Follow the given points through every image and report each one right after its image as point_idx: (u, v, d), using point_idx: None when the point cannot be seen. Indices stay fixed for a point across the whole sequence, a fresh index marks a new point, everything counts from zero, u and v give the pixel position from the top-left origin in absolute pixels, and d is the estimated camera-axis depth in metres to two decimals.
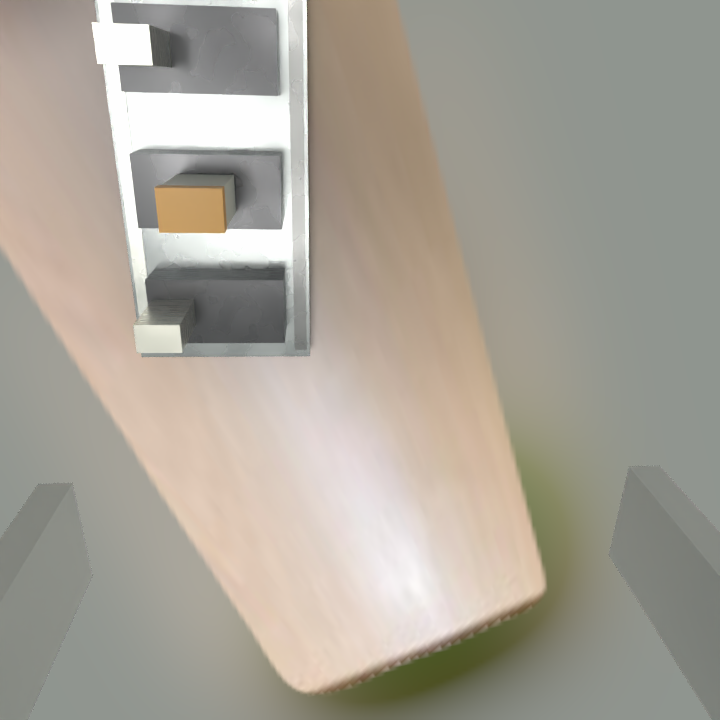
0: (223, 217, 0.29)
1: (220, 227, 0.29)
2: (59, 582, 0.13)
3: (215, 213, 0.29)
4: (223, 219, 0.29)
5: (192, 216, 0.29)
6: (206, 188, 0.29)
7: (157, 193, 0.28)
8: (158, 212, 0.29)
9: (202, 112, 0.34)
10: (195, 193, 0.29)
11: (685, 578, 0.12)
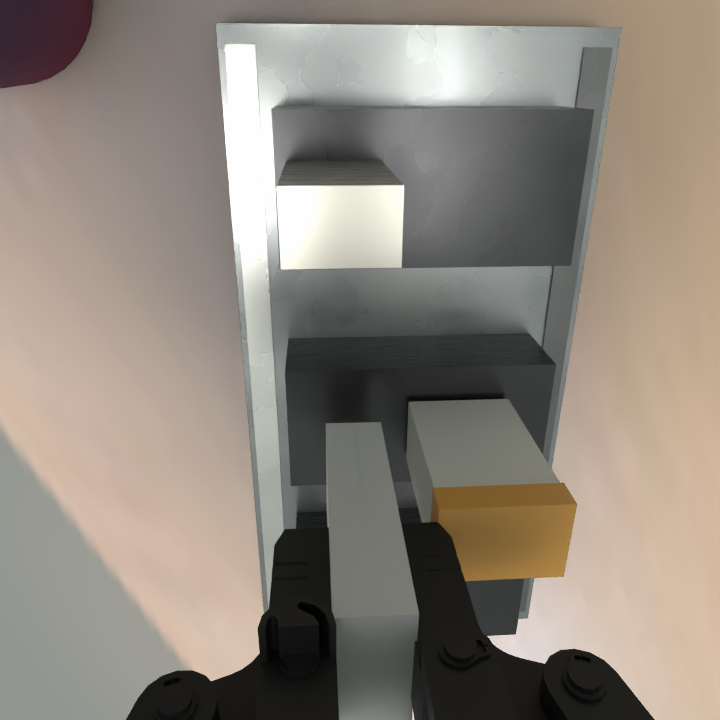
0: (565, 549, 0.14)
1: (556, 567, 0.14)
2: None
3: (553, 545, 0.14)
4: (565, 553, 0.14)
5: (505, 552, 0.14)
6: (543, 503, 0.14)
7: (444, 519, 0.13)
8: None
9: (400, 277, 0.19)
10: (521, 514, 0.14)
11: None
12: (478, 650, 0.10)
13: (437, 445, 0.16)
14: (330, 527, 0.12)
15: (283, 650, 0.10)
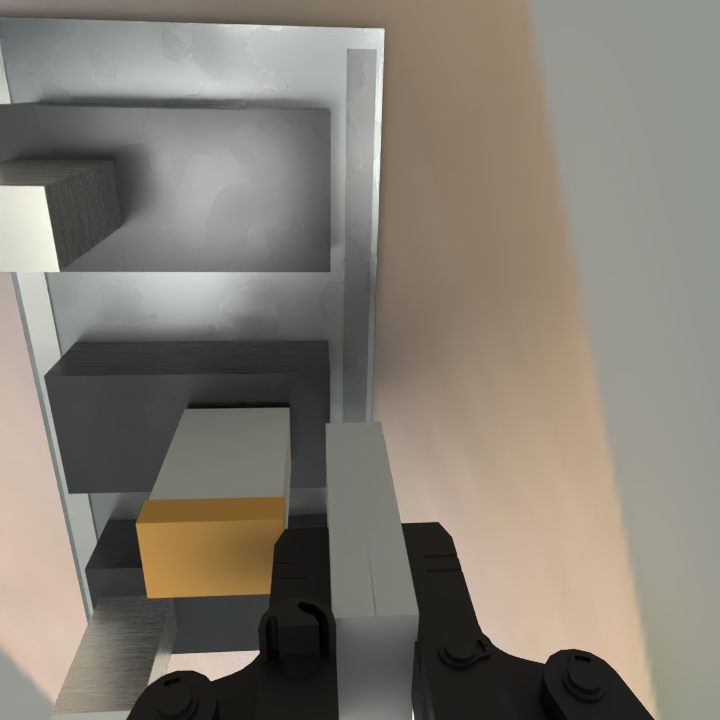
0: None
1: None
2: None
3: (267, 562, 0.14)
4: None
5: (217, 568, 0.14)
6: (249, 518, 0.13)
7: (143, 533, 0.13)
8: (145, 564, 0.13)
9: (185, 280, 0.19)
10: (225, 529, 0.13)
11: None
12: (478, 650, 0.10)
13: (182, 455, 0.15)
14: (330, 527, 0.12)
15: (283, 650, 0.10)
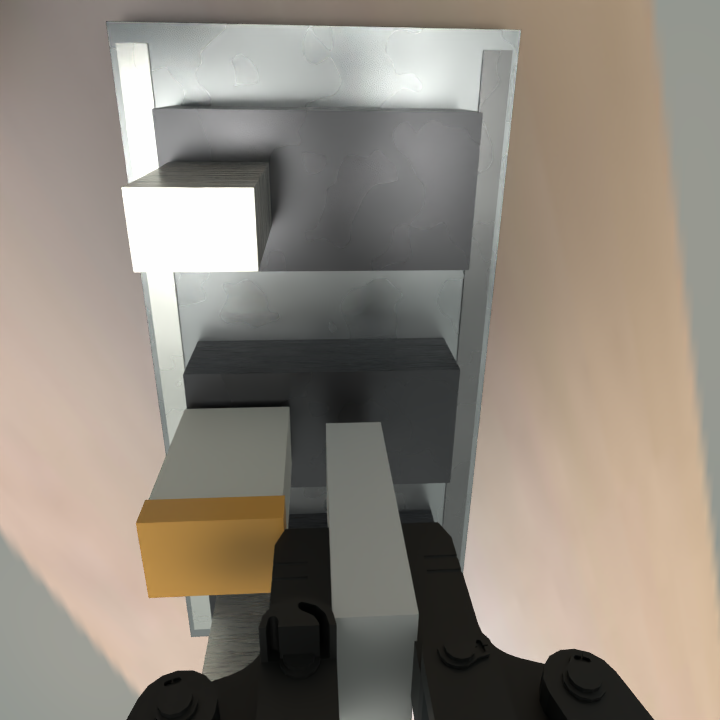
0: None
1: None
2: None
3: (268, 560, 0.14)
4: None
5: (218, 567, 0.14)
6: (249, 517, 0.13)
7: (143, 533, 0.13)
8: (146, 564, 0.13)
9: (309, 280, 0.19)
10: (225, 528, 0.13)
11: None
12: (478, 650, 0.10)
13: (182, 455, 0.15)
14: (330, 527, 0.12)
15: (284, 650, 0.10)
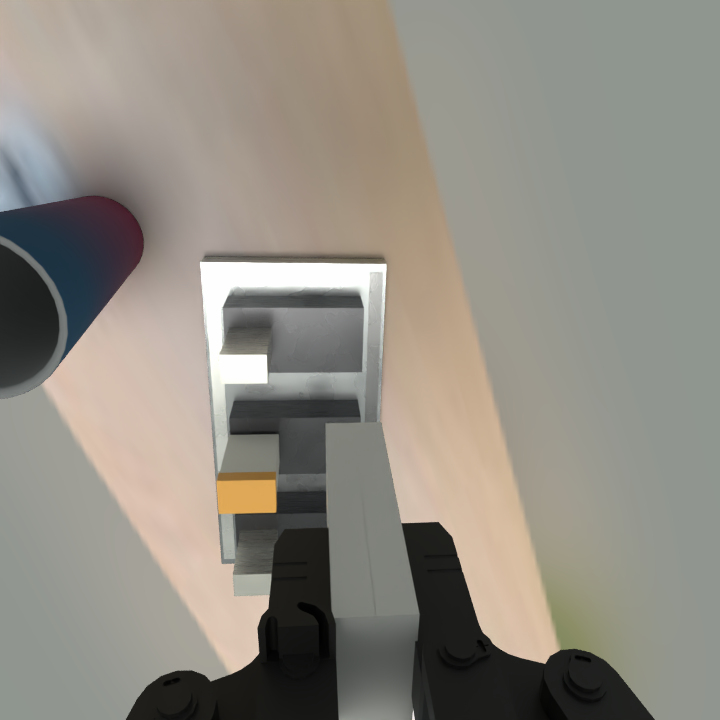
0: (275, 500, 0.33)
1: (272, 508, 0.33)
2: None
3: (268, 498, 0.33)
4: (275, 502, 0.33)
5: (248, 500, 0.33)
6: (261, 479, 0.33)
7: (218, 485, 0.32)
8: (218, 498, 0.33)
9: None
10: (252, 484, 0.33)
11: None
12: (478, 650, 0.10)
13: (231, 455, 0.35)
14: (330, 527, 0.12)
15: (283, 650, 0.10)
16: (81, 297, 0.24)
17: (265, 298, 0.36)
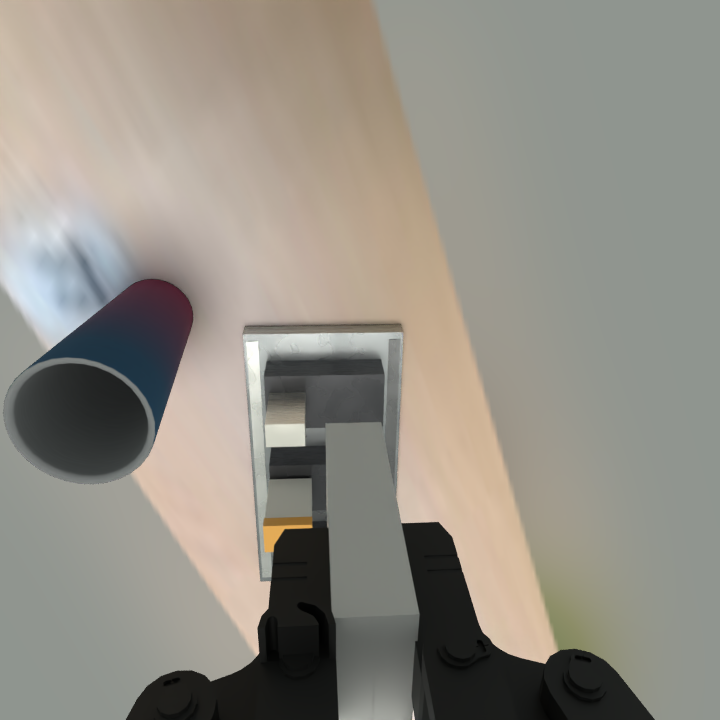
0: None
1: None
2: None
3: None
4: None
5: None
6: (300, 524, 0.39)
7: (265, 529, 0.39)
8: (264, 540, 0.39)
9: None
10: (292, 528, 0.39)
11: None
12: (478, 650, 0.10)
13: (272, 500, 0.41)
14: (330, 527, 0.12)
15: (283, 650, 0.10)
16: (161, 398, 0.30)
17: (299, 364, 0.42)
